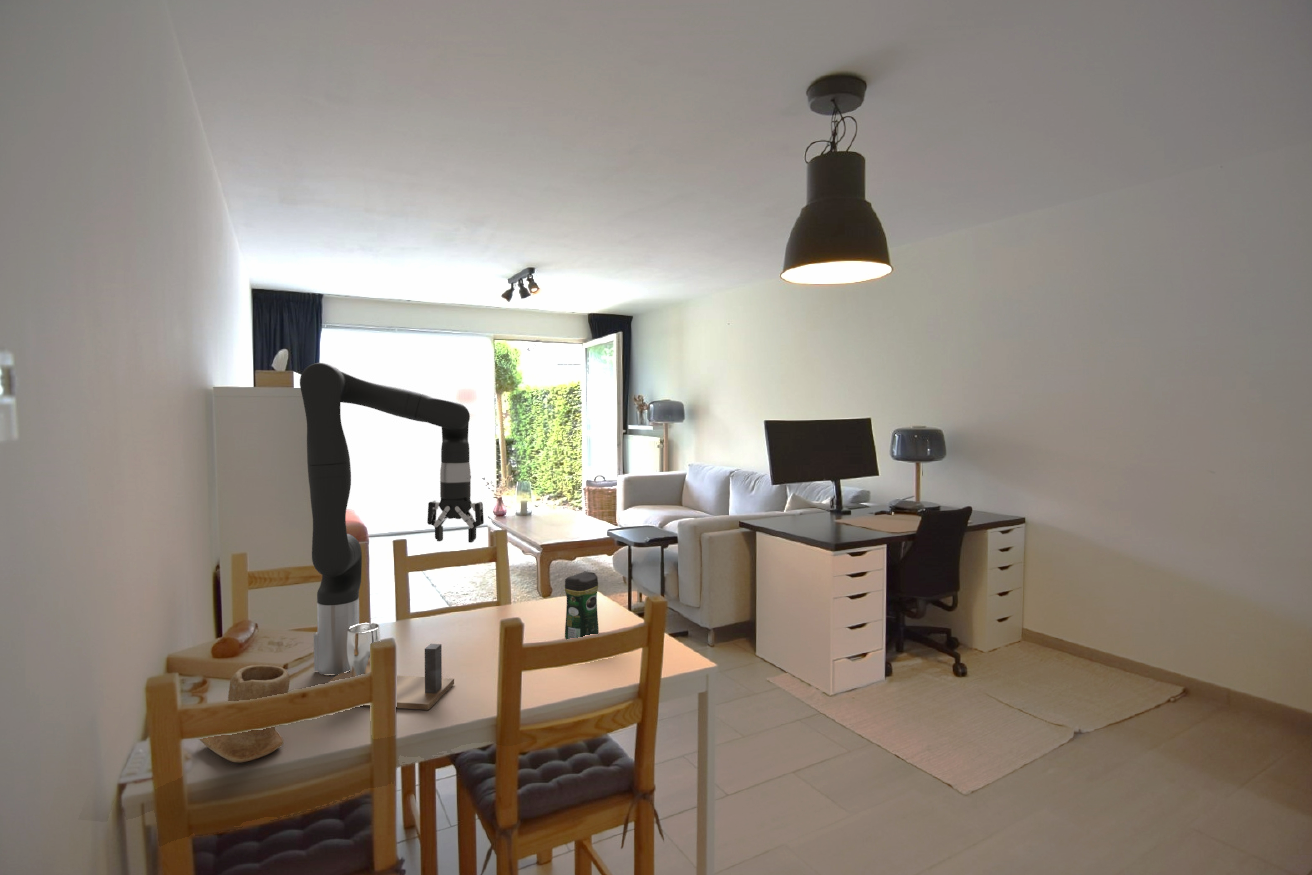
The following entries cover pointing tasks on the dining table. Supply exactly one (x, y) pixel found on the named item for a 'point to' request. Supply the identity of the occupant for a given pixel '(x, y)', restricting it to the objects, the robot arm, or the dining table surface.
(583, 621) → the coffee jar
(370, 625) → the beer glass
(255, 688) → the stone cup
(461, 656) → the dining table surface
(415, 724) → the dining table surface
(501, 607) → the dining table surface
